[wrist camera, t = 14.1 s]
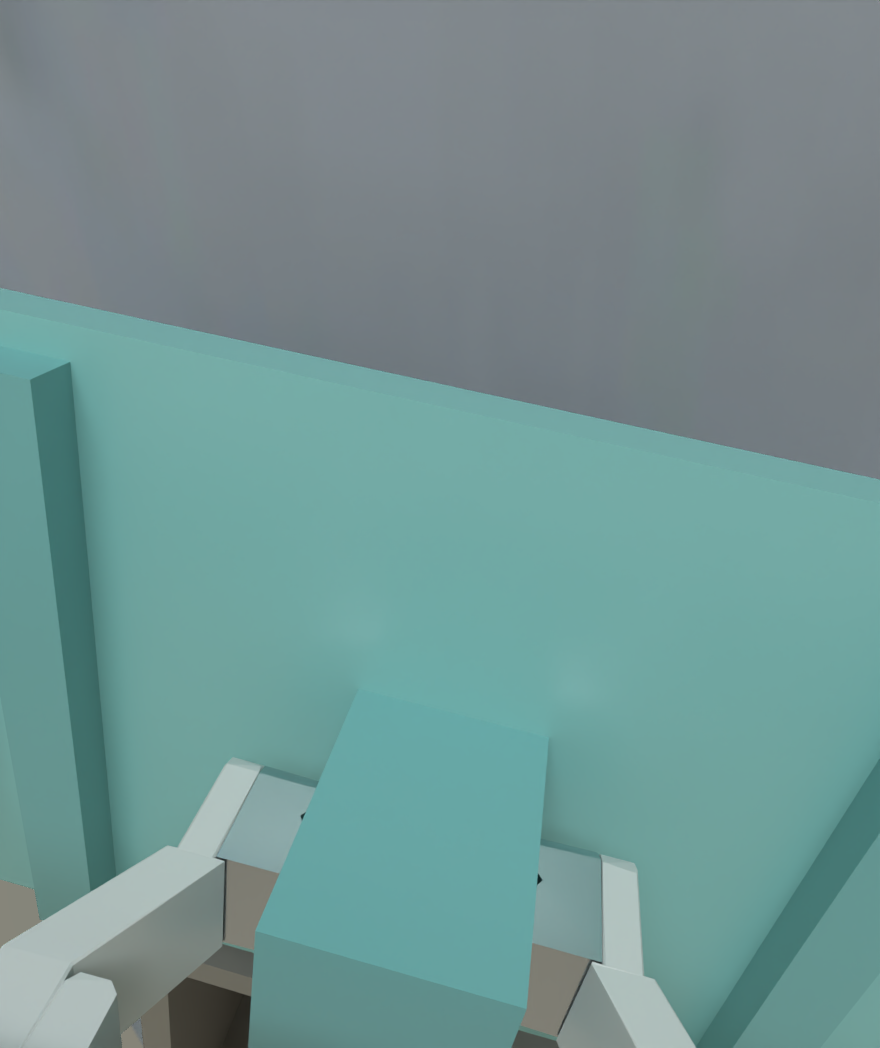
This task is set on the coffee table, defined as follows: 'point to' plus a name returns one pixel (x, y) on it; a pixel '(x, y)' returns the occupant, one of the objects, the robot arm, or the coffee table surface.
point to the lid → (438, 678)
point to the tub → (226, 1008)
